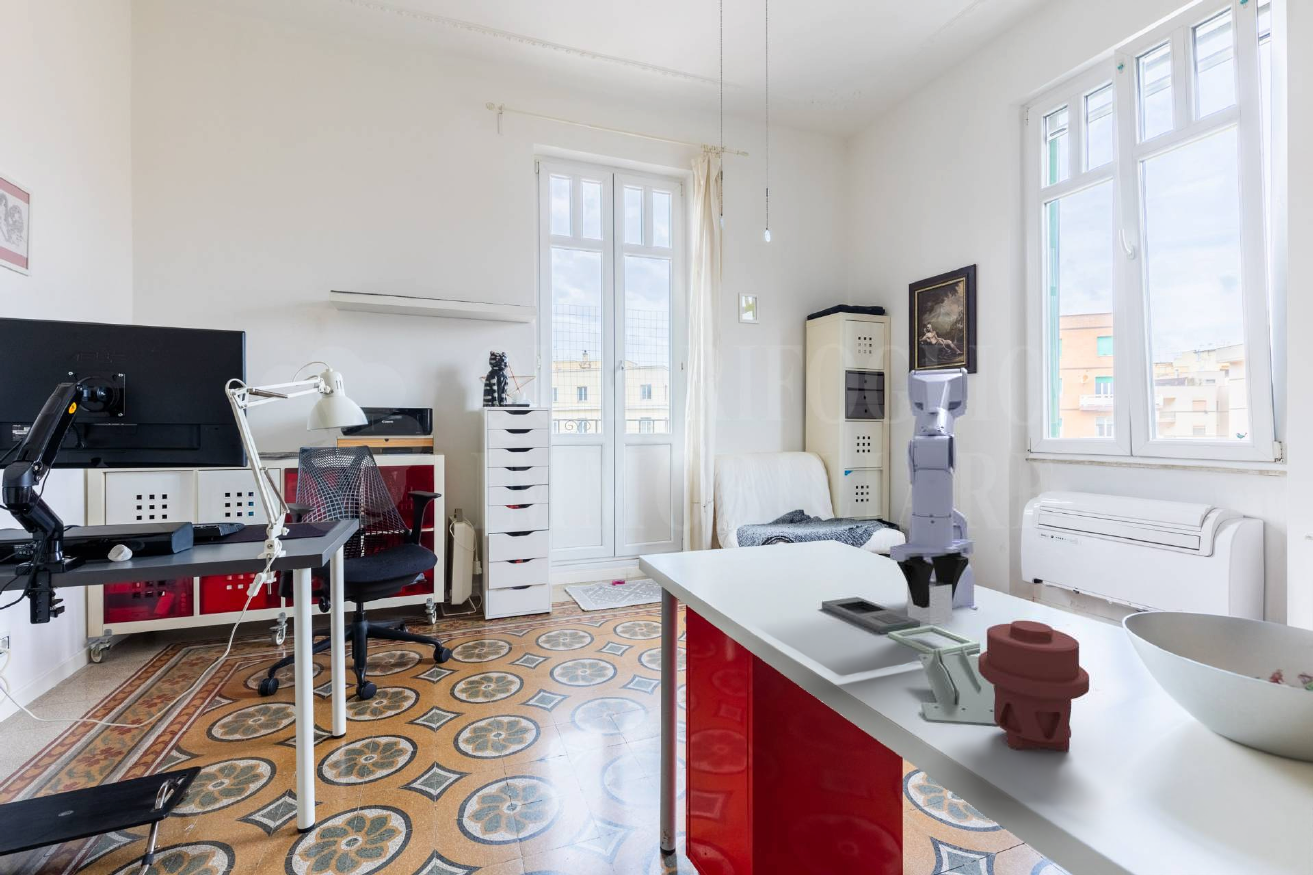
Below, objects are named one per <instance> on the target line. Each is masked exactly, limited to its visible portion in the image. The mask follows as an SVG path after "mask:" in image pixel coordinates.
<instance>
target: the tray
mask: <svg viewBox="0 0 1313 875" xmlns="http://www.w3.org/2000/svg"><path fill="white" fill-rule="evenodd" d="M925 632H934V633H936V634H940V635H942V636H945V637H947V638H950V639H953V640H956V641H958V642H960V643H959V644H954V645H947V646H943V647H938V648H932V647H929V646H927V645H924V644H922V643H921V642H917V641H914V640H912V639H910V638H908V637H905V636H908V635H909V636H910V635H914V634H915V635H916V634H921V633H925ZM887 636H888V637H889V638H892V639H895V640H896V641H899V642H901V643H904V644H906V645H908V646H910V647H913V648H915V649H917V650H920V651H922V652H924V653H925V654H934V649H936V650H937V652H938V649H940V650H941V652H942V655H946V654H948V655H957V656H961V647H964V650H965V652H966V654H967V656H974V655H976V654H977V655H978V654H981V648H980V647H981V643H980V642H979V641H975V640H974V639H970V638H968V637H965V636H963V635H959V634H956V633H955V632H951V631H949V630H946V629H943V628H940V627H938V626H936V625H934V624H929V625H925V626H924V625H923V626H920V627H918V628H912V629H906V630H900V631H894V632H888V633H887ZM969 649H970V650H969ZM959 651H960V652H959ZM954 652H955V653H954ZM949 653H950V654H949Z"/></svg>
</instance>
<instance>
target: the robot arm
mask: <svg viewBox="0 0 1313 875" xmlns="http://www.w3.org/2000/svg"><path fill="white" fill-rule="evenodd" d="M907 378H908V379H907V380H908V382H907V395H908V401H909V406H910V411H912V416H914V417H915V420H914V430H913V436H912V440H911V439H909V440H908V445H907V466H908V470H909V480H910V481H909V484H910V485H911V516H910V520H909V521H910V523H909V529H908V530H909V532H908V542H906V543H902V544H897V545H894V546H893V545H892V546H889V555H890V558H889V559H890V560H892V561H895V562H896V564H897V566H898V567H899V569H900V570H901V572H902V574H903V576H904V578H905V581H906V584H907V583H908V586H909V590H910V593H911V597H912V601H913V605H916V606H919V607H921V608H927V604H928V596H929V583H930V579H934V580H937V581H941V582H945V583H949V584H952V609H955V608H960V607H963V608H967V609H969V610H978V609H979V607H978V605H975V575H974V570H973V568H972V566H971V564H970V563H969V561H970V560H969V555H971V554H974V551H973V550H974V542H973V541H972V540H969V528H968V519H966V516H965V515H964V514H963V513H961V512H960V511H959V510H957V509H956V508H954V474H955V472H956V468H957V448H956V447H957V443H956V439H955V435H954V434H955V433H954V424H955V419H957V418H959V417H961V416H964V415H965V414H966V410H967V407H968V406H967V404H968V402H967V400H968V370H967V369H966V368H965V367H960V368H950V369H949V368H948V369H932V370H931V369H930V370H929V369H927V370H926V369H925V370H915V369H913V370H911V371H910V372H909V373H908V377H907Z"/></svg>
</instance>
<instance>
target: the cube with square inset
mask: <svg viewBox="0 0 1313 875" xmlns="http://www.w3.org/2000/svg"><path fill="white" fill-rule="evenodd" d="M906 587H907V588H906V589H907V593H906V594H907V597H906V598H907V615H908V617H910V618H913V619H916V620H919V621H920V622H922V623H924V624H926V625H935V624H941V623H947V622H953V608H952V584H949V583H945V582H941V581H937V580H934V579H930V583H929V596H928V604H927V608H921V607H919V606H916V605H913V601H912V597H911V593H910V590H909V586H908V583H907V582H906Z"/></svg>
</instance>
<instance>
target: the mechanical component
mask: <svg viewBox="0 0 1313 875" xmlns="http://www.w3.org/2000/svg"><path fill="white" fill-rule="evenodd" d="M978 657H979V658H978V670H979V673H980V674H981V675H982V676H983V677H984V678H985V679H986V680H987V681H989V682H990V683H992V684H993V685H994V693H995V702H994V720H995V722H996V724H997V725H998V726H997V727H999V728H1000V729H1001V730H1003V731H1004V732H1006V734H1005V735H1006V737H1005V738H1006V739H1005V740H1006V745H1008V746H1009V748H1011V749H1014V750H1026V749H1046V750H1053V751H1058V752H1067V751H1069V750H1070V738H1071V737H1072V729H1071V726H1070V722H1071V716H1072V714H1071V713H1072V700H1074V699H1078V698H1081V697H1083V696H1084V695H1087V693H1088V692H1089V691H1090V675H1089V673H1088V672H1087V671H1086V670H1085V668H1083V667H1081V666H1080V643H1079V641H1078V640H1077V639H1075V638H1074V637H1073V636H1070V634H1067V633H1065V632H1062V631H1059V630H1056V629H1053V628H1052V627H1051V626H1050V625H1048V624H1046V623H1043V622H1038V621H1031V620H1014V621H1012V622H1011V623H1000V624H996V625H993V626H989V627H988V628H987V630H986V651H984V652H982V653H980V655H979V656H978Z"/></svg>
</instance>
